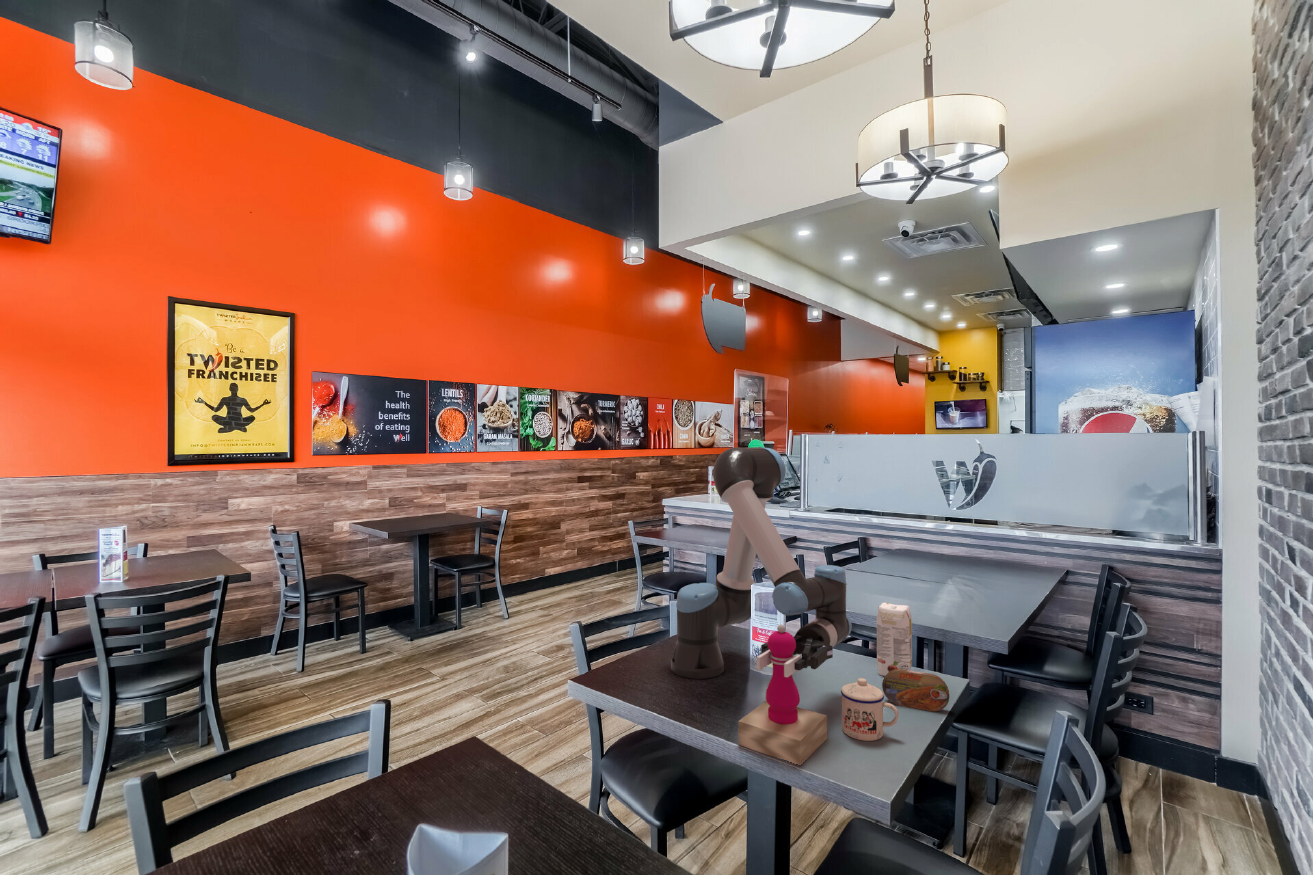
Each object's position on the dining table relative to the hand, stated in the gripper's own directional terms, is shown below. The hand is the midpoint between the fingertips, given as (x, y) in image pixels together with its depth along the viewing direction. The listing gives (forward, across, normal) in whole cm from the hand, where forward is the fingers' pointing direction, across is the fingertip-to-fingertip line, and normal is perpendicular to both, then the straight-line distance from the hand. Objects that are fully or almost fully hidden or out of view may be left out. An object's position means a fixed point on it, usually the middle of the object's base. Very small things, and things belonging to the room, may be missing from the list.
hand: (771, 666), depth 124 cm
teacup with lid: (-20, -14, -18) cm, 30 cm away
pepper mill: (-5, 0, -13) cm, 14 cm away
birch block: (-5, 0, -18) cm, 18 cm away
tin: (-41, -18, -18) cm, 48 cm away
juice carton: (-59, -8, -18) cm, 62 cm away
